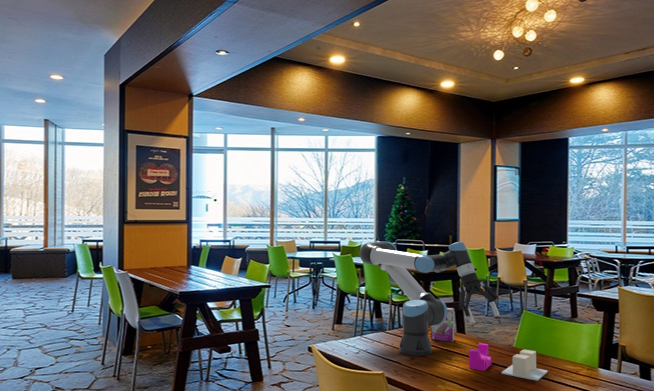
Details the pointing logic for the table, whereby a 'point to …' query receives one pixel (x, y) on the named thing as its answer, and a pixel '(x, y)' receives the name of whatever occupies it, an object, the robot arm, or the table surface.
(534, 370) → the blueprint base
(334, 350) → the table surface
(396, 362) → the table surface
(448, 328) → the candy bar box
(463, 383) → the table surface
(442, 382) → the table surface
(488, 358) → the toy block
